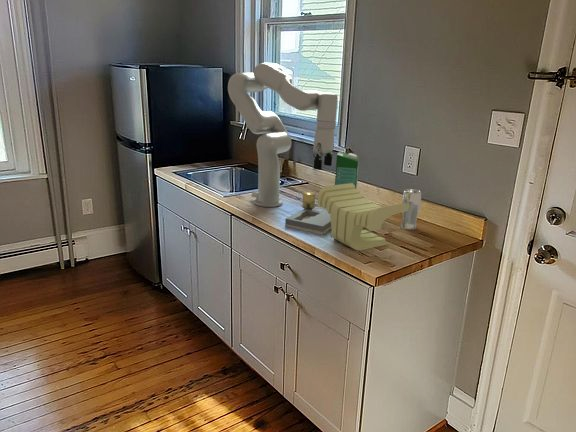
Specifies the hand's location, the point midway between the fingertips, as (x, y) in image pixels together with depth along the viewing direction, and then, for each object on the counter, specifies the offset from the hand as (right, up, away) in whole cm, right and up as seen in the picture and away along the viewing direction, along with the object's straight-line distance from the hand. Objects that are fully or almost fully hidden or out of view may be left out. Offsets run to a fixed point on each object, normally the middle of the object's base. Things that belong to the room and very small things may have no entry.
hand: (322, 167), depth 194 cm
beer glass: (+34, -25, -5) cm, 42 cm away
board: (-4, -23, -5) cm, 24 cm away
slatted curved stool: (+11, -29, -22) cm, 39 cm away
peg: (-6, -19, +8) cm, 21 cm away
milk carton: (+11, -17, +16) cm, 26 cm away
